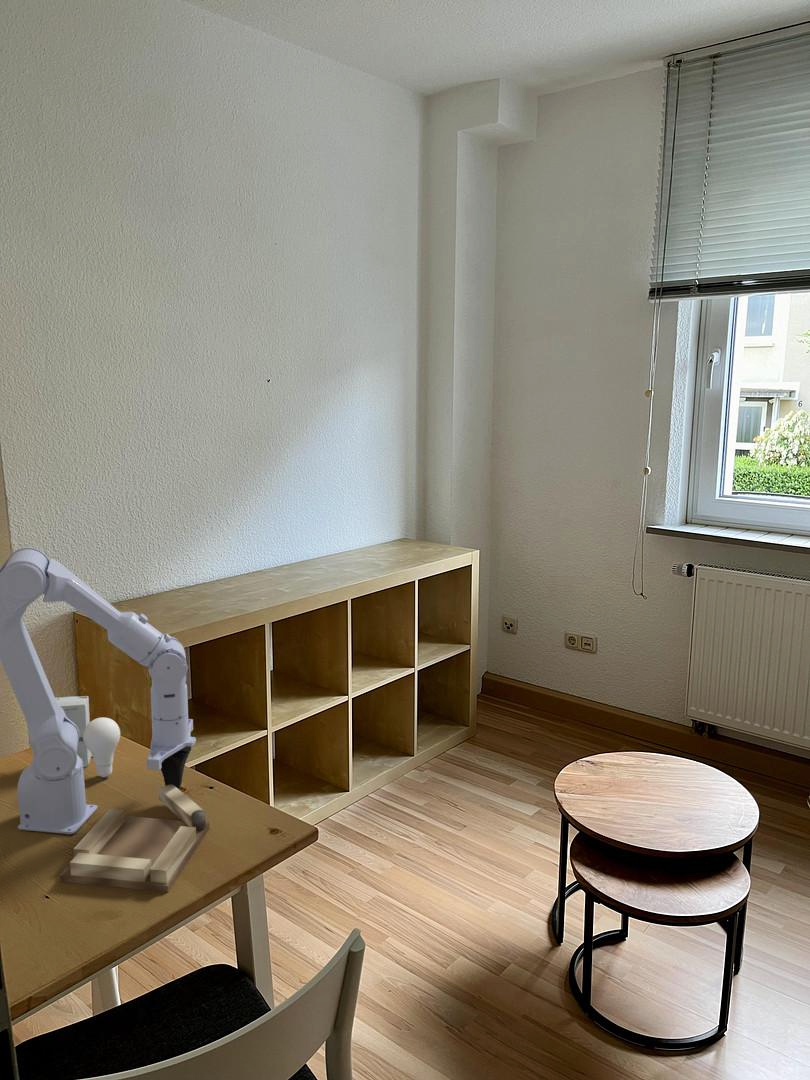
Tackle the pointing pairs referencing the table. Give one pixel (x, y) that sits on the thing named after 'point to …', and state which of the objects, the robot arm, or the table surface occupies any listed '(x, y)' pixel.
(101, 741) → the lightbulb
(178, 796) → the hinged leg
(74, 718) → the skincare box
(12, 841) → the table surface
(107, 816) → the stool seat
